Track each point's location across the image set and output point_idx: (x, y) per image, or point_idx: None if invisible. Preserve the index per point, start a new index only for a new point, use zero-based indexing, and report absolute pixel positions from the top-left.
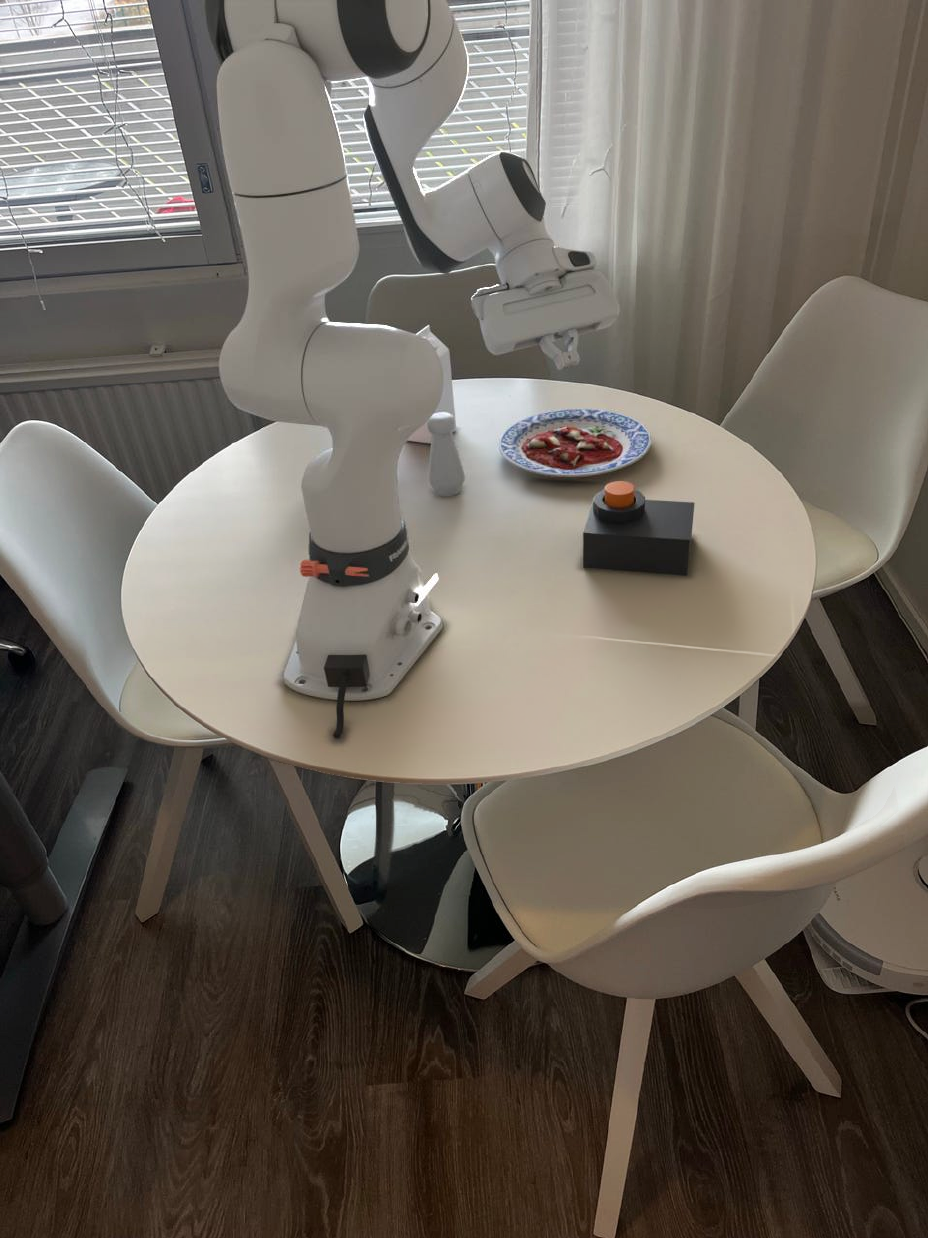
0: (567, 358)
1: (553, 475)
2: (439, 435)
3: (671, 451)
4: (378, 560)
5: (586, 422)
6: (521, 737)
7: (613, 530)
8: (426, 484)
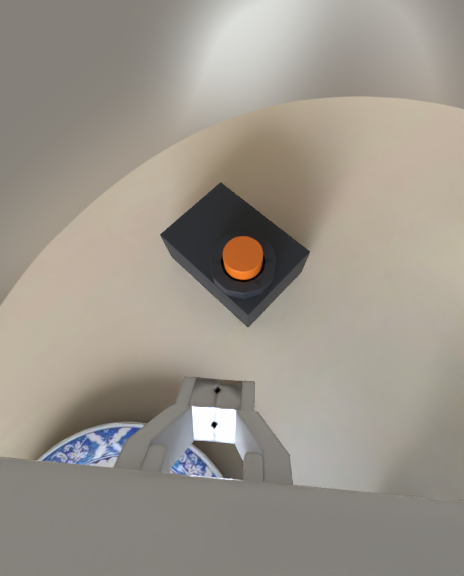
0: (227, 388)
1: (220, 472)
2: None
3: (17, 447)
4: None
5: None
6: (453, 127)
7: (276, 237)
8: None
